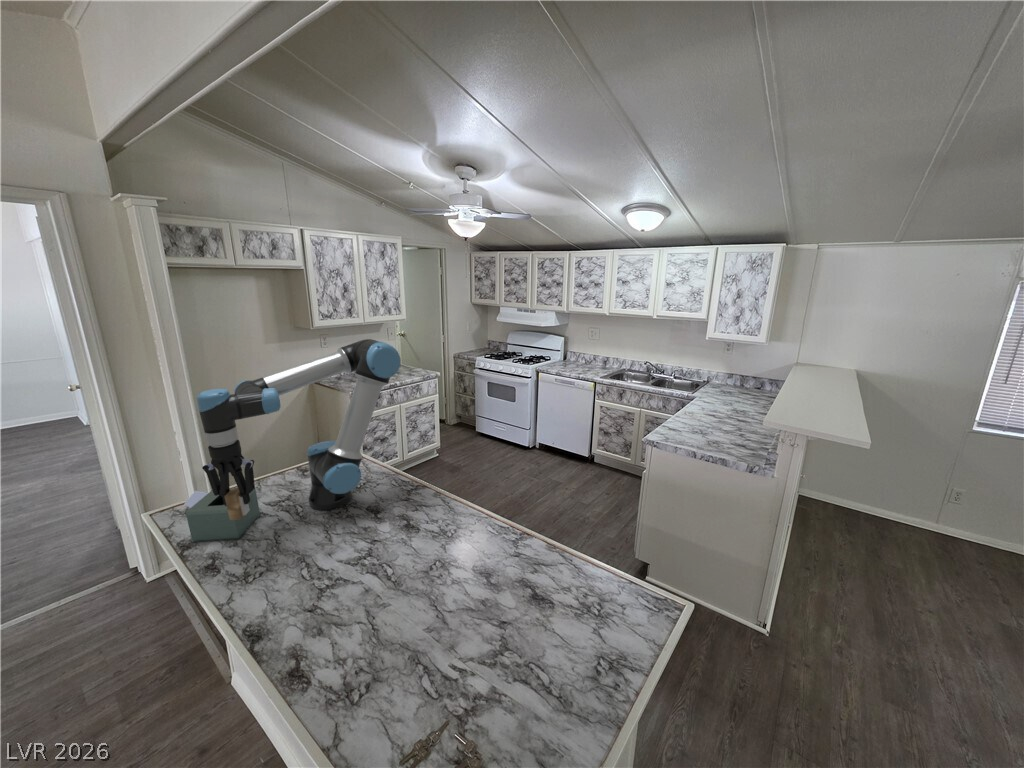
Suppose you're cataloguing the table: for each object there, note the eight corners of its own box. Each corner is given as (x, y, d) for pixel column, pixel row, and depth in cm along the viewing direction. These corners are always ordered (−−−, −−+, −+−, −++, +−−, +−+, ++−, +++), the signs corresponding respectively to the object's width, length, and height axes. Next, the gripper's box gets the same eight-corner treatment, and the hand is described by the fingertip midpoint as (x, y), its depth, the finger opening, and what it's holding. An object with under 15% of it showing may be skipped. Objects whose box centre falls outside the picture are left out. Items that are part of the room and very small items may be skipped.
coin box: (260, 515, 144) (255, 487, 141) (238, 539, 130) (232, 509, 127) (218, 517, 142) (212, 489, 139) (192, 542, 129) (185, 512, 126)
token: (249, 509, 125) (244, 486, 122) (240, 519, 120) (235, 495, 118) (238, 510, 124) (233, 487, 122) (229, 520, 119) (224, 496, 117)
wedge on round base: (185, 512, 145) (206, 522, 140) (181, 496, 144) (202, 504, 138) (212, 500, 153) (232, 509, 148) (208, 485, 151) (229, 492, 146)
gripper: (259, 435, 120) (273, 504, 126) (202, 438, 119) (219, 508, 125) (246, 446, 113) (261, 518, 119) (185, 449, 111) (203, 522, 118)
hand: (239, 513), depth 122 cm, fingers closed on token, 3 cm apart
